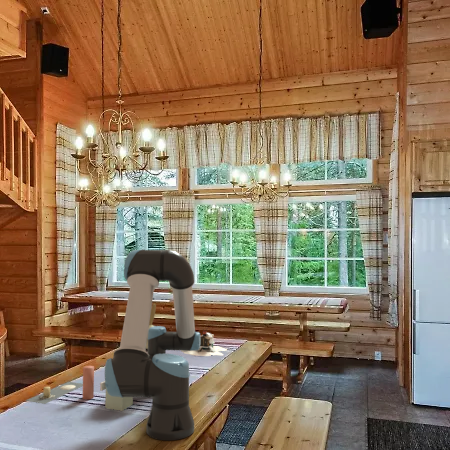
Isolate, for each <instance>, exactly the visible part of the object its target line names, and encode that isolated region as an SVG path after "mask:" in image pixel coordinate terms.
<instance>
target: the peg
mask: <svg viewBox="0 0 450 450" xmlns="http://www.w3.org/2000/svg"><path fill="white" fill-rule="evenodd" d="M82 384H83V386H82V400H86V401H87V400H88V401H89V400H92V399H94V397H95V396H94V394H95V393H94V391H95V366H94V365H85V366H83V367H82Z"/></svg>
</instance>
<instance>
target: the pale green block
mask: <svg viewBox="0 0 450 450" xmlns="http://www.w3.org/2000/svg"><path fill="white" fill-rule="evenodd" d="M104 402H105V403H104V404H105V409H106V408H107V409H108V410H113V409H114V411H119V410H120V412H123V411H124V409H125V410H127V407H128V408H129V407H131V406H133V404H134V403H133V402H134V397H123V398H121V397H114V396H111V395H109V394H108V392H107V390H106V389H105V401H104Z"/></svg>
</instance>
